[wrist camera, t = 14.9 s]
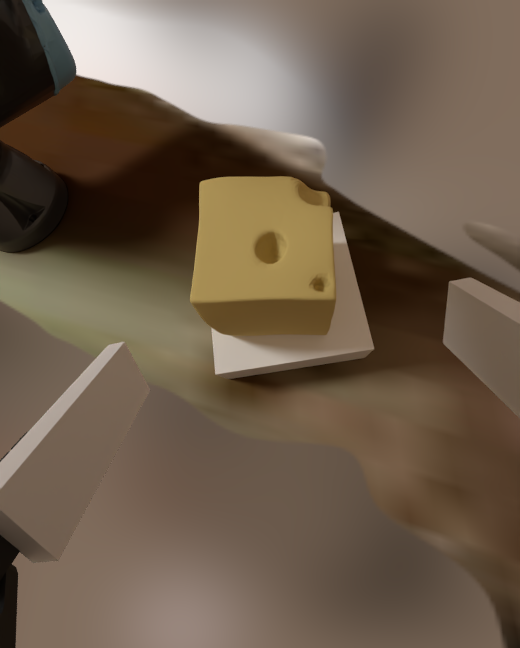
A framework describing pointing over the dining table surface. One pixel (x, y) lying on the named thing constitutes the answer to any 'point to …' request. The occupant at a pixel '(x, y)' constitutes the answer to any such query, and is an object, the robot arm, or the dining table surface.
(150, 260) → the dining table surface
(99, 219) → the dining table surface
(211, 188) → the cheese
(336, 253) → the stand
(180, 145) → the dining table surface
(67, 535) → the robot arm
